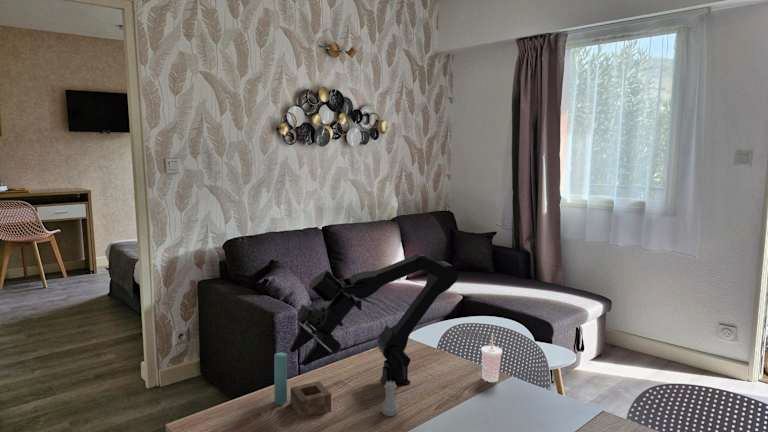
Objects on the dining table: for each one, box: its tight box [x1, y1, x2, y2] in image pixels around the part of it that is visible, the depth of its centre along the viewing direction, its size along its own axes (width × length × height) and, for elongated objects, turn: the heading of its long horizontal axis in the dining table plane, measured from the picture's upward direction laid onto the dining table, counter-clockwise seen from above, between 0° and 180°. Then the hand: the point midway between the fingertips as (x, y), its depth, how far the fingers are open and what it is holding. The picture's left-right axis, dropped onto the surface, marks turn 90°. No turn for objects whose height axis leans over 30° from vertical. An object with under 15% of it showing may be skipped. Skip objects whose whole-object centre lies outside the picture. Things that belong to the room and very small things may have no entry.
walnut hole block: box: [290, 380, 332, 419], centre depth 130 cm, size 8×8×4 cm
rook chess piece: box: [380, 381, 399, 417], centre depth 129 cm, size 4×4×8 cm
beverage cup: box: [480, 332, 503, 383], centre depth 148 cm, size 6×6×14 cm
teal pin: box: [273, 351, 288, 406], centre depth 132 cm, size 3×3×13 cm
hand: (296, 358), depth 134 cm, fingers open, 9 cm apart
